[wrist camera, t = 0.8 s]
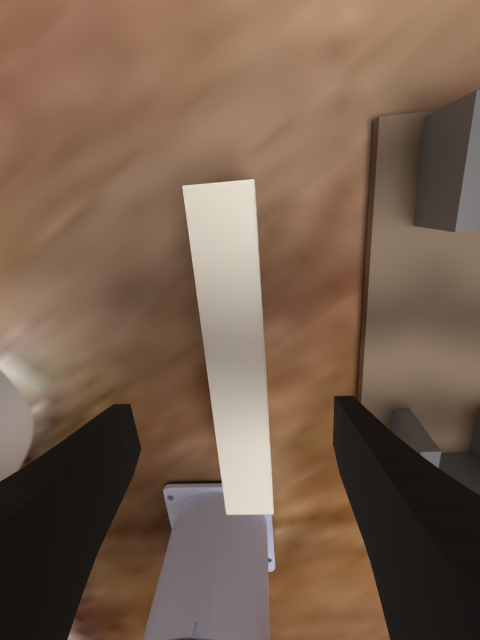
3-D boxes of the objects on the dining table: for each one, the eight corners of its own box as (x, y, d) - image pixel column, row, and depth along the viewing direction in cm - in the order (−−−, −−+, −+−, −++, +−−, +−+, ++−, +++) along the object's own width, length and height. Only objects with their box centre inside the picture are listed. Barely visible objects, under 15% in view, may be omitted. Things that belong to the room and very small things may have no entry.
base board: (504, 458, 21) (513, 467, 20) (353, 461, 22) (356, 470, 21) (604, 95, 14) (623, 89, 13) (373, 120, 15) (379, 116, 14)
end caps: (481, 466, 20) (524, 516, 17) (387, 467, 21) (411, 516, 18) (570, 101, 13) (672, 67, 10) (425, 116, 14) (476, 89, 11)
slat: (269, 434, 22) (273, 514, 16) (234, 435, 22) (226, 514, 16) (255, 187, 16) (254, 178, 11) (208, 191, 16) (182, 185, 11)
